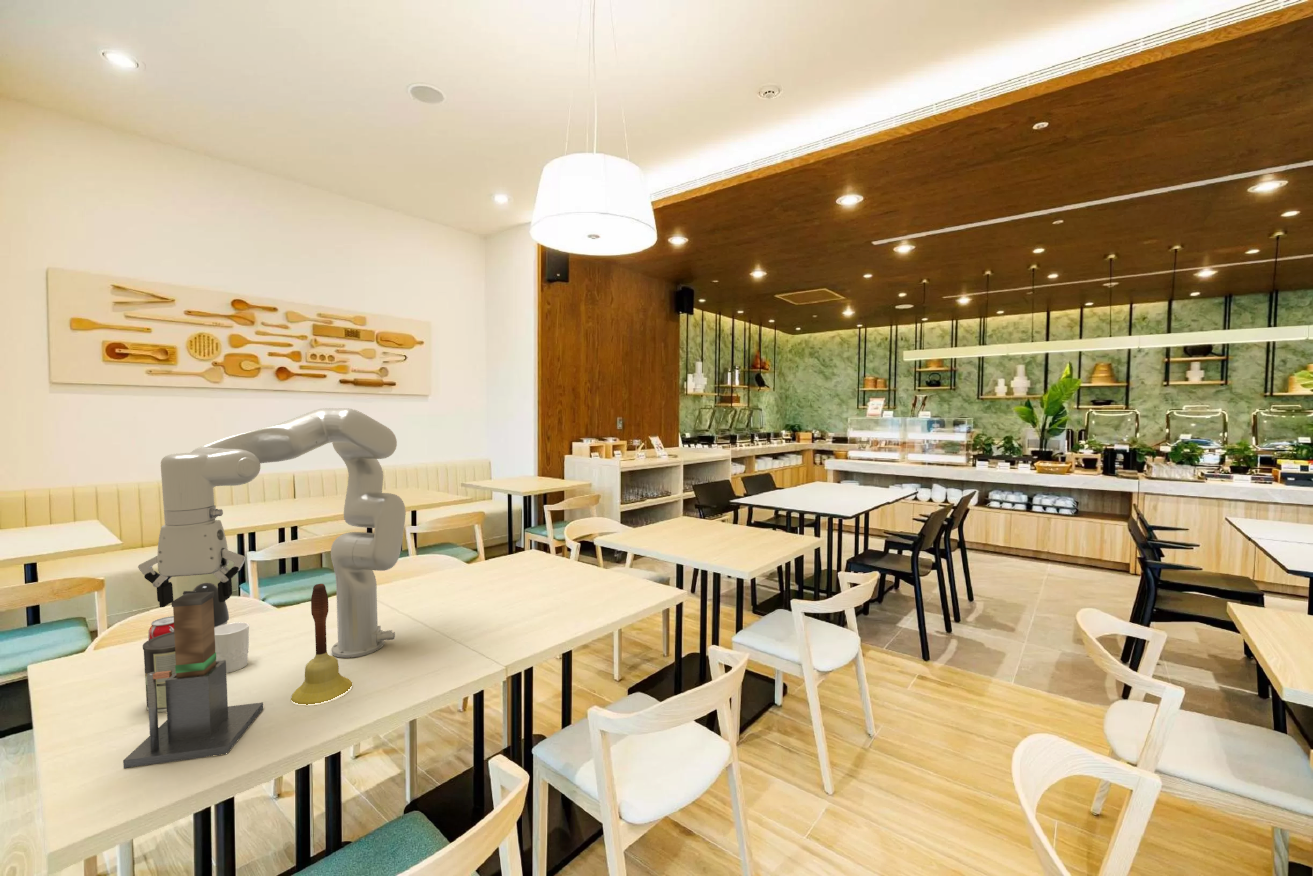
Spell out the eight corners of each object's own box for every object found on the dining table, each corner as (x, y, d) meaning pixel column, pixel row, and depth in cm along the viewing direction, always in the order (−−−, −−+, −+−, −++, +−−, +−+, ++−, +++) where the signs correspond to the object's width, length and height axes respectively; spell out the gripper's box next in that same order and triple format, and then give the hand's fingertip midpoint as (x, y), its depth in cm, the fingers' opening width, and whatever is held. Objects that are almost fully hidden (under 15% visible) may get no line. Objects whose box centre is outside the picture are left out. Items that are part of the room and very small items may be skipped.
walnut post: (218, 683, 112) (214, 591, 111) (205, 695, 107) (201, 599, 106) (190, 686, 111) (185, 593, 110) (176, 698, 106) (171, 601, 105)
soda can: (165, 675, 134) (162, 627, 133) (142, 672, 135) (139, 624, 135) (194, 662, 141) (192, 616, 140) (172, 659, 142) (170, 613, 142)
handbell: (297, 684, 130) (293, 580, 129) (356, 674, 135) (353, 574, 133) (284, 710, 119) (280, 597, 117) (349, 699, 123) (345, 590, 122)
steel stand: (263, 709, 119) (260, 636, 118) (226, 754, 104) (223, 671, 103) (175, 719, 115) (171, 645, 114) (123, 768, 100) (119, 682, 99)
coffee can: (132, 712, 118) (128, 648, 117) (175, 688, 128) (172, 628, 127) (179, 713, 117) (176, 649, 117) (218, 688, 128) (216, 629, 127)
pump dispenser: (174, 639, 154) (171, 586, 153) (215, 626, 164) (212, 575, 163) (197, 645, 151) (194, 591, 150) (237, 631, 160) (235, 579, 159)
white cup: (257, 663, 140) (255, 625, 140) (222, 677, 133) (220, 637, 132) (239, 657, 143) (237, 620, 143) (203, 670, 136) (202, 631, 136)
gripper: (250, 510, 113) (255, 591, 114) (148, 515, 108) (155, 599, 110) (232, 518, 106) (238, 605, 107) (123, 523, 101) (130, 614, 102)
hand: (196, 602), depth 108 cm, fingers open, 9 cm apart
